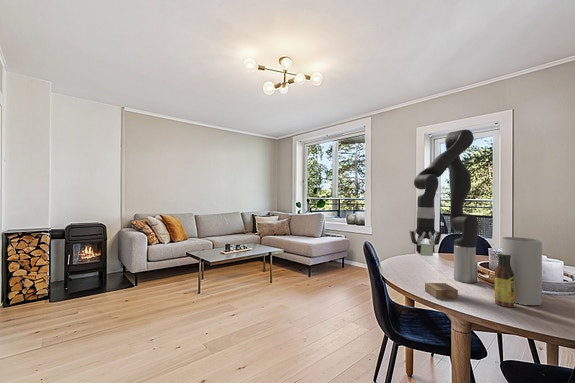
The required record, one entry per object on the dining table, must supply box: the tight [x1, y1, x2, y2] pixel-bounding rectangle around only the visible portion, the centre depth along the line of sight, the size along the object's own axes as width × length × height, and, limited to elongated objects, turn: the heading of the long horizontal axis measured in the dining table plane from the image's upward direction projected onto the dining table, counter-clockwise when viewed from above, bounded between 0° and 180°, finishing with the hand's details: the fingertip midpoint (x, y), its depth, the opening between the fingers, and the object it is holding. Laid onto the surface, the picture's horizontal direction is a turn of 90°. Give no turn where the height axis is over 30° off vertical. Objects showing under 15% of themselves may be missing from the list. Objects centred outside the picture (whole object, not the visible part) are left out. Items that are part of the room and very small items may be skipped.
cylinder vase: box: [501, 236, 543, 306], centre depth 114 cm, size 12×12×25 cm
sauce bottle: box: [494, 252, 515, 308], centre depth 110 cm, size 7×6×20 cm
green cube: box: [417, 242, 434, 257], centre depth 131 cm, size 5×5×5 cm
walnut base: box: [424, 282, 459, 300], centre depth 120 cm, size 9×9×4 cm
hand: (425, 253), depth 131 cm, fingers closed on green cube, 5 cm apart
